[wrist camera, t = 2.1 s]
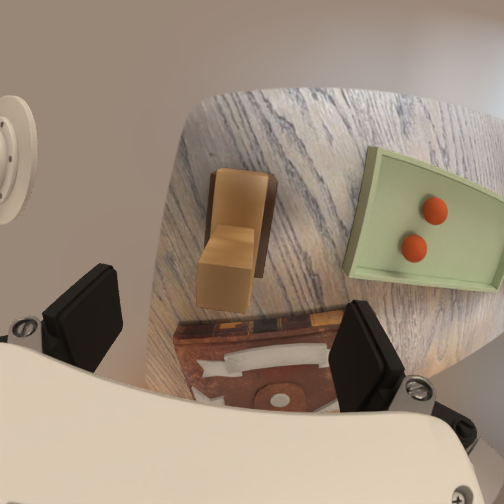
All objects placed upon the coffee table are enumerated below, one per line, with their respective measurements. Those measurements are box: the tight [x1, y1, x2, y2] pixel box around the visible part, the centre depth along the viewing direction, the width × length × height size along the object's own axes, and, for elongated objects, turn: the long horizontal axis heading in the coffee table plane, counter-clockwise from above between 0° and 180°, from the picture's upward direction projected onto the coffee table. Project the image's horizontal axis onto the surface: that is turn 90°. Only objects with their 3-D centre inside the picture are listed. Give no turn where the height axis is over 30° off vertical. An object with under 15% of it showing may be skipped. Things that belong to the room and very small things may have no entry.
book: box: [173, 306, 376, 413], centre depth 31 cm, size 23×16×5 cm
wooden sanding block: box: [196, 168, 269, 314], centre depth 17 cm, size 3×9×10 cm, turn 173°
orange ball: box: [423, 197, 448, 225], centre depth 24 cm, size 3×3×3 cm
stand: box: [204, 171, 278, 278], centre depth 24 cm, size 5×8×6 cm, turn 172°
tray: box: [342, 147, 504, 293], centre depth 25 cm, size 27×13×2 cm, turn 82°
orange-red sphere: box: [402, 235, 427, 263], centre depth 25 cm, size 3×3×3 cm
